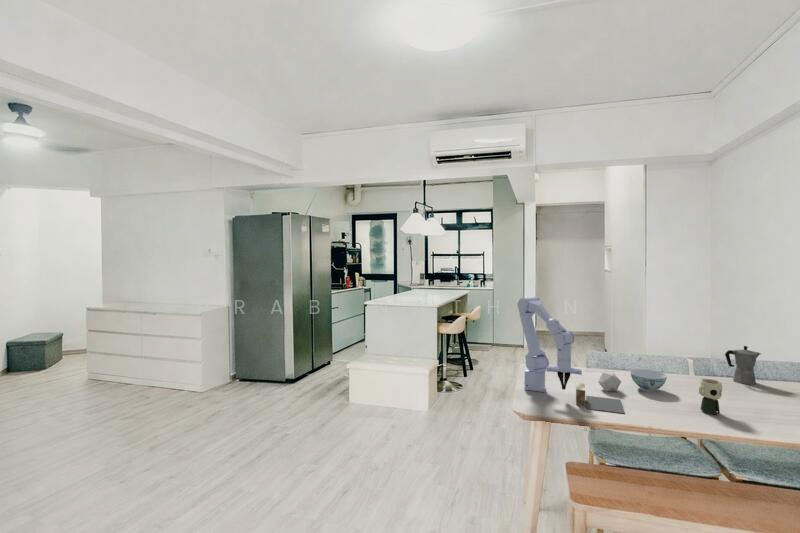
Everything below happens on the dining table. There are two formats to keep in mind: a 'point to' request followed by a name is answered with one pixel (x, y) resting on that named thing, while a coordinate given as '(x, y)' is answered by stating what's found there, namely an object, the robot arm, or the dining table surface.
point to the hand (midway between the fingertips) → (563, 388)
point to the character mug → (710, 395)
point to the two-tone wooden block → (580, 394)
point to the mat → (604, 404)
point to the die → (609, 381)
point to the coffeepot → (743, 365)
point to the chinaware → (648, 379)
